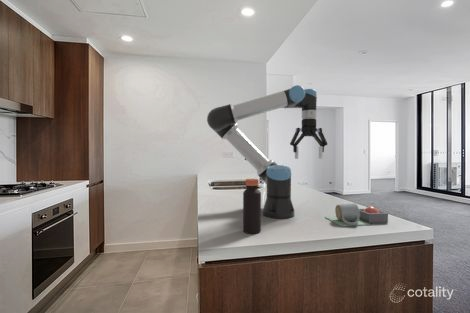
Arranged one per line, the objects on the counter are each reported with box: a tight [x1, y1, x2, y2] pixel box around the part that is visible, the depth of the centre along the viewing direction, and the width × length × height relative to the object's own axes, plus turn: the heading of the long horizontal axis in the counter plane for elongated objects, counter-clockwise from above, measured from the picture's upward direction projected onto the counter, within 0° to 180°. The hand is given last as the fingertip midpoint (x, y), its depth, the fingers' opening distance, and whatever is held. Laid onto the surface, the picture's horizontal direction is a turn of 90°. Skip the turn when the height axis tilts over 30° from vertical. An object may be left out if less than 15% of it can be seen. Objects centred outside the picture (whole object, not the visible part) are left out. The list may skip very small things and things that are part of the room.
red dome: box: [363, 205, 380, 214], centre depth 107 cm, size 6×6×5 cm
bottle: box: [242, 178, 262, 235], centre depth 92 cm, size 7×7×20 cm
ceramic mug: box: [334, 202, 360, 225], centre depth 103 cm, size 11×8×8 cm
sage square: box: [324, 215, 371, 227], centre depth 106 cm, size 13×13×1 cm
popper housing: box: [359, 208, 389, 224], centre depth 107 cm, size 9×9×4 cm
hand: (308, 158), depth 129 cm, fingers open, 13 cm apart
